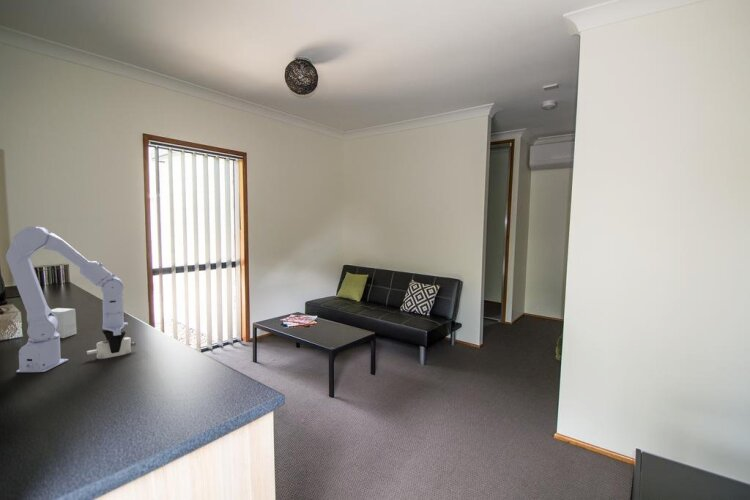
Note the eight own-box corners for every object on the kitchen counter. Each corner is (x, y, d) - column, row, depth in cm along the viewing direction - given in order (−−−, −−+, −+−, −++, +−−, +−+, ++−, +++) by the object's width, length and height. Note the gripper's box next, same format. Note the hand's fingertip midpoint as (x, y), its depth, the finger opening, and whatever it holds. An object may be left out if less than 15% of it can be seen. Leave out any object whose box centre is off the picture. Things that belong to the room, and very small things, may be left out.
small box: (77, 334, 141) (76, 308, 140) (63, 338, 135) (62, 311, 135) (59, 333, 142) (58, 307, 141) (44, 337, 136) (43, 310, 135)
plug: (134, 349, 126) (134, 335, 126) (136, 351, 124) (136, 338, 123) (86, 358, 117) (86, 344, 116) (88, 361, 114) (87, 346, 114)
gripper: (131, 314, 117) (132, 353, 118) (123, 306, 128) (124, 342, 128) (105, 318, 112) (106, 359, 113) (98, 309, 123) (100, 347, 123)
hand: (114, 350), depth 121 cm, fingers closed on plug, 3 cm apart
